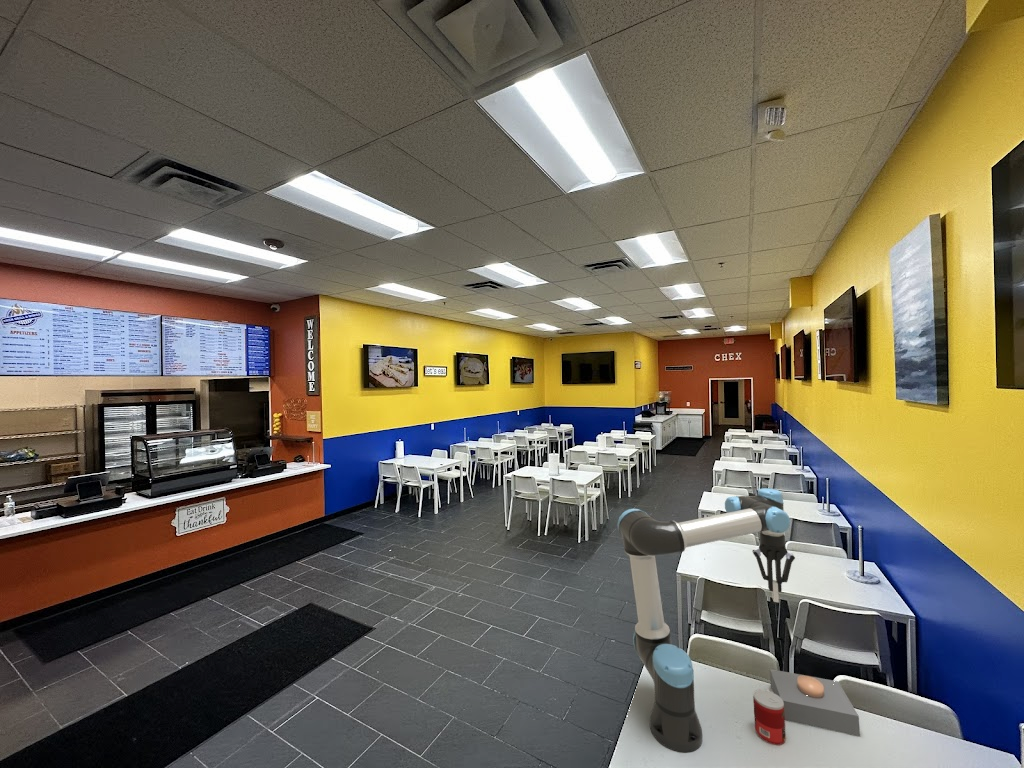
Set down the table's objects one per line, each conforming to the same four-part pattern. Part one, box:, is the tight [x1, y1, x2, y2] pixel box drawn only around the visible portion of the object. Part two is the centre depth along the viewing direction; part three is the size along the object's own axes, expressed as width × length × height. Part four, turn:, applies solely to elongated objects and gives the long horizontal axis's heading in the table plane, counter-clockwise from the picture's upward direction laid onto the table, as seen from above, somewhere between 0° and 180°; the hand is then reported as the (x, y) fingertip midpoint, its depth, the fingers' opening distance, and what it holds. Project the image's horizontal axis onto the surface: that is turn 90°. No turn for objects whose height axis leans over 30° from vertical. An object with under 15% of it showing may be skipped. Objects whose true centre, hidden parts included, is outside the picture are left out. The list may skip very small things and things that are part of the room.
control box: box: [769, 668, 861, 737], centre depth 133 cm, size 20×16×6 cm
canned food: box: [752, 689, 787, 746], centre depth 124 cm, size 8×8×11 cm
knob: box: [797, 674, 824, 698], centre depth 134 cm, size 7×7×8 cm
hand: (775, 600), depth 144 cm, fingers closed
